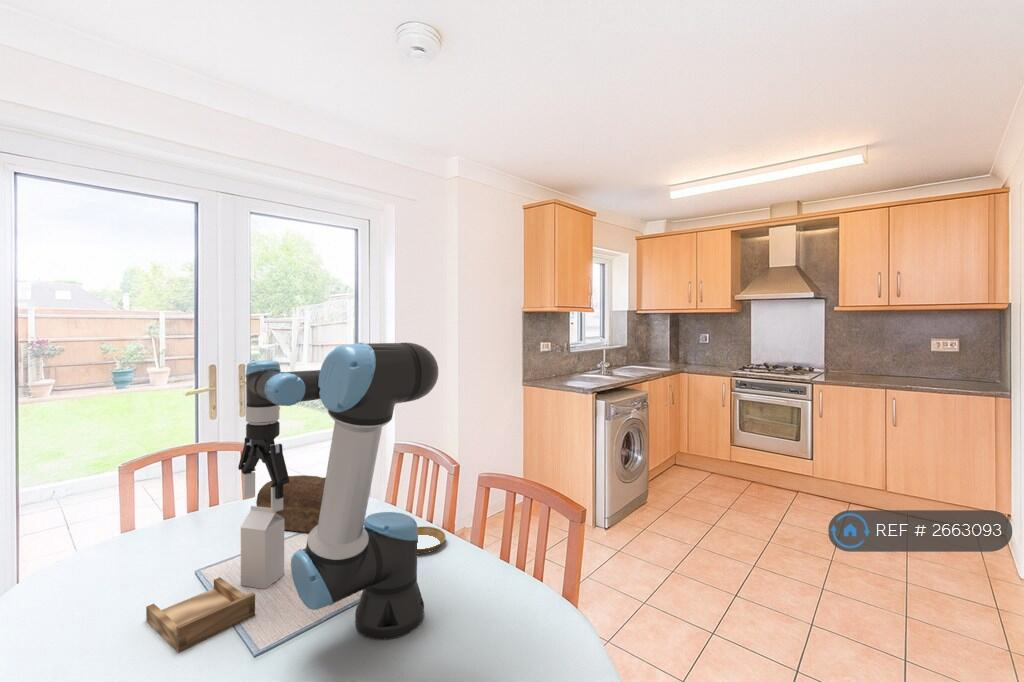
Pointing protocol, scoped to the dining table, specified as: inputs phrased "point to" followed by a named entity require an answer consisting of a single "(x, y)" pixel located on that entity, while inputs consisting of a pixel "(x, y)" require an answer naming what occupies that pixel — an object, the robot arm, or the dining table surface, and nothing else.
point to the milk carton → (262, 548)
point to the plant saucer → (431, 532)
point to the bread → (297, 501)
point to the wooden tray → (201, 615)
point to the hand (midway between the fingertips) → (262, 504)
